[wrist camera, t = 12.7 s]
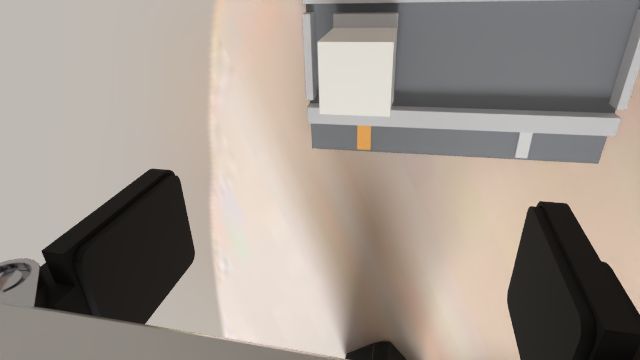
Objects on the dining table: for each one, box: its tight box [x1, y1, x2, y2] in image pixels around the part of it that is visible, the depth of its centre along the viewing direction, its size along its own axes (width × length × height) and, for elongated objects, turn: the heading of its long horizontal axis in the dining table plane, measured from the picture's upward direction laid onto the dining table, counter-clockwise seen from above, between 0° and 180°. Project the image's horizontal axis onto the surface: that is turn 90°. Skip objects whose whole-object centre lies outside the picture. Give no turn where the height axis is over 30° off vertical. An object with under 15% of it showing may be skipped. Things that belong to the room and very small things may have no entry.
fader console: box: [302, 0, 640, 164], centre depth 27 cm, size 20×14×3 cm
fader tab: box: [317, 12, 399, 117], centre depth 25 cm, size 4×6×6 cm
